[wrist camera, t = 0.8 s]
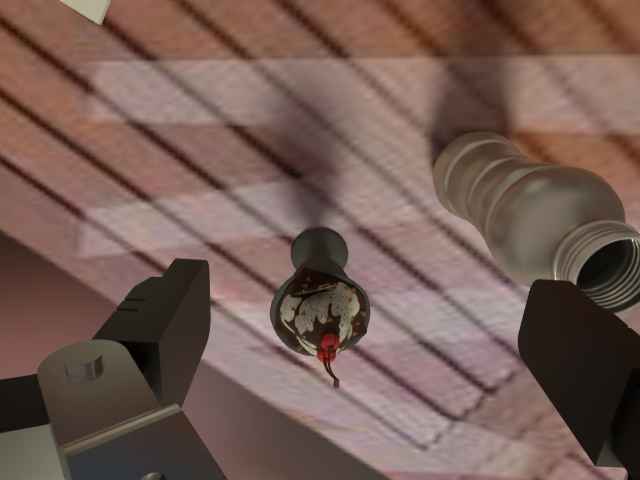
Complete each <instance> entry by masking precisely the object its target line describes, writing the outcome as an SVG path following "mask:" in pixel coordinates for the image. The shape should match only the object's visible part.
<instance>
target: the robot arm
mask: <svg viewBox="0 0 640 480" xmlns="http://www.w3.org/2000/svg"><path fill="white" fill-rule="evenodd" d="M210 321H211V313H210V278H209V264H208V261H207V260H197V259H178V258H176V259H175V260H174V261H173V262H172V264H171V265H170V266H169V268H168V269H167V270H166V272H165V273H164V275H163V276H162V277H150V278H148V279H147V280H145V281H143V282H141V283H140V284H138V285H136V286H134V288H133V289H132V290H131V291H130V293H129V294H128V295H127V296H126V297H125V301H122V302H121V304H120V305H119V306H118V307H117V311H114V312H113V314H112V315H111V316H110V318H109V319H108V320H107V321H106V322H105V324H104V325H103V326H102V327H101V329H100V330H99V331H98V332H97V334H96V335H95V336H94V337H93V338H92V340H87V341H81V342H77V343H74V344H71V345H68V346H65V347H63V348H61V349H59V350H57V351H55V352H54V353H52V354H51V355H49V356H48V357H47V358H46V359H45V360H44V361H43V362H42V363H41V364H40V366H39V368H38V371H37V374H33V375H28V376H22V377H15V378H9V379H2V380H0V480H228V479H227V478H226V476H225V475H224V473H223V472H222V470H221V469H220V467H219V466H218V464H217V462H216V461H215V460H214V458H213V456H212V455H211V453H210V452H209V450H208V449H207V447H206V446H205V444H204V443H203V441H202V440H201V438H200V437H199V435H198V434H197V432H196V430H195V429H194V427H193V426H192V424H191V423H190V422H189V420H188V418H187V417H186V415H185V414H184V412H183V411H182V409H181V408H182V405H183V403H184V400H185V398H186V395H187V393H188V390H189V387H190V385H191V382H192V380H193V377H194V374H195V372H196V370H197V367H198V364H199V362H200V359H201V357H202V354H203V352H204V349H205V347H206V344H207V341H208V337H209V331H210ZM518 349H519V353H520V356H521V358H522V360H523V361H524V363H525V364H526V366H527V367H528V369H529V370H530V372H531V373H532V375H533V376H534V377H535V379H536V380H537V382H538V383H539V385H540V386H541V388H542V389H543V391H544V392H545V394H546V395H547V396H548V398H549V399H550V401H551V402H552V404H553V405H554V407H555V408H556V410H557V411H558V413H559V414H560V416H561V417H562V418H563V420H564V421H565V423H566V424H567V426H568V427H569V429H570V430H571V432H572V433H573V435H574V436H575V437H576V439H577V440H578V442H579V443H580V445H581V446H582V448H583V449H584V451H585V452H586V454H587V455H588V456H589V458H590V459H591V461H592V462H593V464H594V465H595V466H600V467H623V468H625V469H626V470H627V473H626V475H625V478H624V480H640V335H638V334H637V333H636V332H635V331H634V330H633V329H631V328H628V325H627V324H626V323H624V322H623V321H622V320H621V319H620V318H619V317H617V316H616V315H615V314H614V313H613V312H611V311H609V310H607V309H605V308H603V307H602V306H600V305H598V304H597V303H596V302H594V301H593V300H592V299H591V298H590V297H589V296H587V295H586V294H585V293H584V292H583V291H582V290H581V289H579V288H578V287H577V286H576V285H575V284H574V283H573V282H571V281H567V280H549V279H537V280H535V281H534V282H533V284H532V285H531V288H530V291H529V295H528V299H527V303H526V307H525V310H524V314H523V318H522V322H521V326H520V330H519V334H518Z"/></svg>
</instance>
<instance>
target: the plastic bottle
mask: <svg viewBox="0 0 640 480" xmlns="http://www.w3.org/2000/svg"><path fill="white" fill-rule="evenodd" d="M433 184H434V188H435V192H436V195H437V197H438V199H439V201H440V203H441V204H442V205H443V207H444V208H445V209H447V210H448V211H449V212H450V213H452V214H454V215H456V216H458V217H459V218H461V219H464V220H467V221H468V222H470V223H471V224H472V225H474V226H475V227H476V229H477V230H478V231H479V232H480V234H481V235H482V236H483V238H484V240H485V242H486V244H487V246H488V248H489V250H490V252H491V254H492V256H493V258H494V259H495V261H496V262H497V264H498V265H499V266H500V268H501V269H502V270H503V272H504V273H505V274H506V275H507V276H509V277H510V278H511V279H512V280H514V281H516V282H518V283H520V284H522V285H525V286H527V287H530V288H531V285H532V284H533V282H534V281H535V280H537V279H549V280H567V281H571V282H573V283H574V284H575V285H576V286H577V287H578V288H579V289H581V290H582V291H583V292H584V293H585V294H586V295H587V296H589V297H590V298H591V299H592V300H593V301H594V302H596V303H597V304H598V305H600V306H602V307H603V308H605V309H607V310H609V311H611V312H613V313H614V314H615V315H616V316H618V315H622V314H625V313H627V312H629V311H632V310H633V309H635V308H637V307H638V306H640V234H639V233H638V232H637V231H636V230H635V229H634V228H633V227H631V226H630V225H628V224H626V221H625V211H624V208H623V204H622V202H621V200H620V198H619V197H618V195H617V193H616V192H615V191H614V190H613V188H612V187H611V186H610V185H609V184H608V183H607V182H606V181H605V180H604V179H603V178H602V177H601V176H599V175H597V174H595V173H594V172H592V171H588V170H585V169H582V168H577V167H574V166H568V165H560V164H552V163H544V162H540V161H537V160H534V159H531V158H528V157H527V156H525V155H524V154H523V153H521V152H520V151H519V149H518V148H517V147H516V146H515V145H514V144H513V143H511V142H510V141H509V140H508V139H507V138H505V137H503V136H501V135H500V134H496V133H493V132H484V131H482V132H473V133H467V134H464V135H461V136H459V137H458V138H456V139H454V140H453V141H451V142H450V143H449V144H448V145H447V146H446V147H445V148H444V149H443V150H442V152H441V153H440V155H439V156H438V158H437V161H436V163H435V166H434V171H433Z"/></svg>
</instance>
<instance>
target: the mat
mask: <svg viewBox="0 0 640 480" xmlns="http://www.w3.org/2000/svg"><path fill="white" fill-rule="evenodd" d="M60 1H62V2H63V3H65V4H67V5H68V6H70V7H72V8H73V9H75V10H76V11H78V12H80V13H81V14H83V15H84V16H86V17H88V18H89V19H91V20H92V21H94V22H96V23H97V24H102V21H103V19H104V16H105V14H106V11H107V9H108V6H109V4H110V2H111V0H60Z"/></svg>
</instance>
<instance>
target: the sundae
mask: <svg viewBox="0 0 640 480" xmlns="http://www.w3.org/2000/svg"><path fill="white" fill-rule="evenodd" d="M291 259H292V263H293V265H294V267H295V269H296V272H295V273H294V275H293V276H292V277H291V278H289V279H288V280H287V281H286V282H285V283H284V284H283V285H282V286H281V287H280V289H279V290H278V292H277V293H276V295H275V297H274V299H273V300H272V303H271V308H270V318H271V323H272V325H273V328H274V330H275V332H276V334H277V335H278V337H279V338H280V339H281V341H282V342H283V343H284V344H285V345H286V346H287V347H288V348H290V349H292V350H294V351H295V352H297V353H300V354H303V355H307V356H317V357H318V359H319V360H320V361H321V362H323V363H324V366H325V368H326V371H327V372H328V373H329V375H330V376H331V377H332V378H333V379H334V387H335V388H339V380H338V379H337V378H336V377H335V376H334V374H333V372H332V371H331V367H330V362H332V361H334V359H335V357H336V353H338V354H339V353H340V352H341V351H344V350H346V349H348V348H350V347H352V346H353V345H355V344H356V343H358V341H359V340H360V339H361V338H362V337H363V336H364V335H365V334H366V333H367V327H368V323H369V319H370V304H369V300H368V297H367V295H366V293H365V292H364V290H363V289H362V288H361V287H360V286H359V285H358V284H356V283H355V282H354V281H353V280H351V279H349V278H348V277H347V275H346V273H345V272H344V270H343V269H344V267H345V265H346V263H347V259H348V250H347V246H346V244H345V242H344V241H343V239H342V238H341V237H340V236H339V235H338V234H336V233H335V232H333V231H330V230H328V229H319V228H317V229H312V230H309V231H306V232H305V233H303V234H302V235H300V236H299V237H298V238H297V239H296V241H295V242H294V244H293V246H292V251H291ZM327 363H328V367H329V369H328V367H327ZM329 370H330V371H329ZM330 372H331V373H330Z"/></svg>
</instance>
